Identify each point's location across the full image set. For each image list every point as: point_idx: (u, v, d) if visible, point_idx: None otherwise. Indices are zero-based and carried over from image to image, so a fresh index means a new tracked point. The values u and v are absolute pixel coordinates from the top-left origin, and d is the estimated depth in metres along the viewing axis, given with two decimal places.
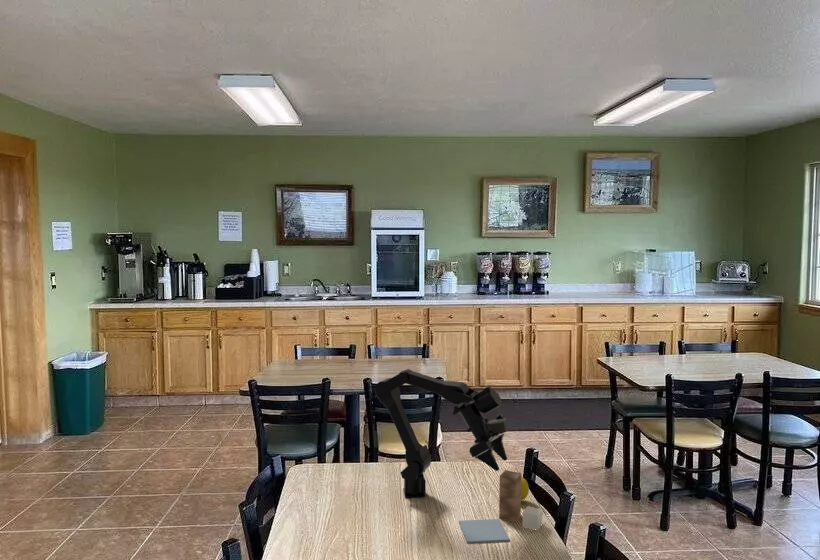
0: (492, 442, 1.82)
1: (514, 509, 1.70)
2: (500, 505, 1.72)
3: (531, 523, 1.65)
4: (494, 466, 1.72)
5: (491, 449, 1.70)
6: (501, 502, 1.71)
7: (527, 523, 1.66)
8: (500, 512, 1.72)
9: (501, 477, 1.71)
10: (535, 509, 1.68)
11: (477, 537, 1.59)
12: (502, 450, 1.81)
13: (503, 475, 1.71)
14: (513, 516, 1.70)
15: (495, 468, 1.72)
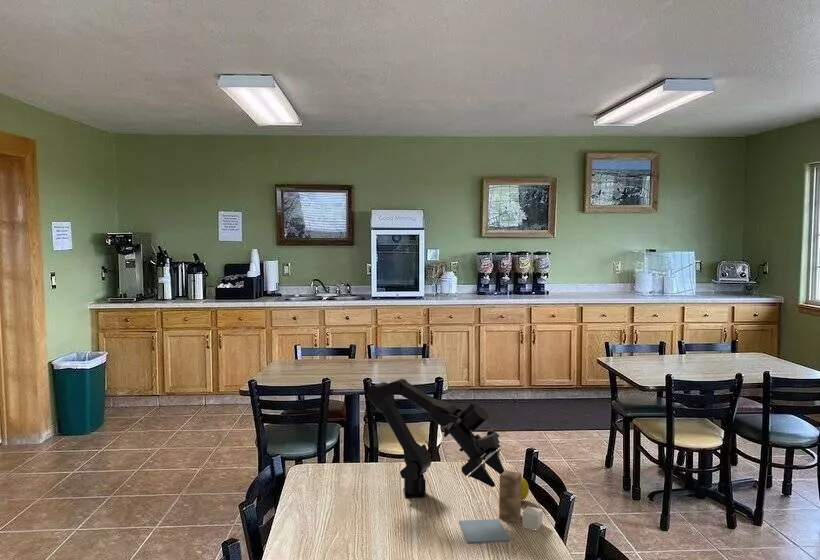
0: (489, 459, 1.81)
1: (514, 509, 1.70)
2: (500, 505, 1.72)
3: (531, 522, 1.65)
4: (489, 482, 1.70)
5: (482, 465, 1.69)
6: (501, 502, 1.71)
7: (527, 523, 1.66)
8: (500, 512, 1.72)
9: (501, 477, 1.71)
10: (535, 509, 1.68)
11: (477, 537, 1.59)
12: (499, 466, 1.79)
13: (503, 475, 1.71)
14: (513, 516, 1.70)
15: (491, 484, 1.70)
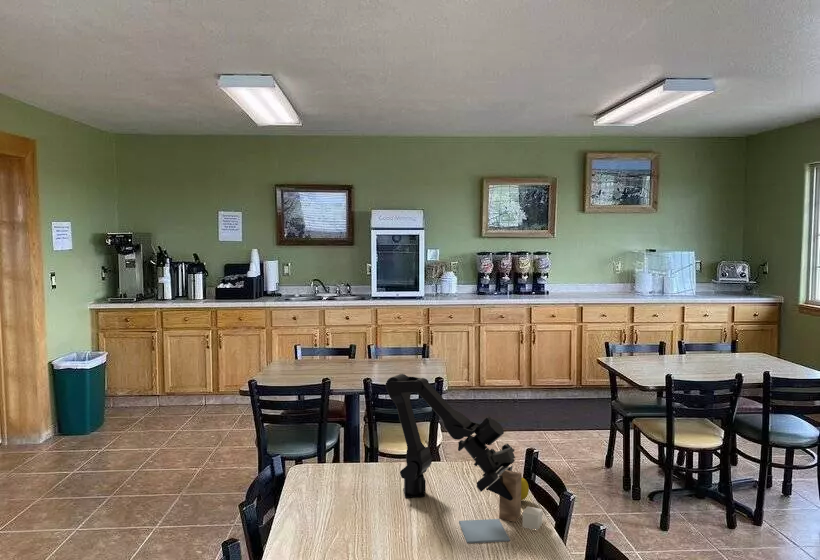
0: None
1: (514, 509, 1.70)
2: (500, 505, 1.72)
3: (531, 522, 1.65)
4: (507, 496, 1.69)
5: (500, 479, 1.68)
6: (501, 502, 1.71)
7: (527, 523, 1.66)
8: (500, 512, 1.72)
9: None
10: (535, 509, 1.68)
11: (477, 537, 1.59)
12: None
13: (504, 475, 1.71)
14: (513, 515, 1.70)
15: (508, 498, 1.69)
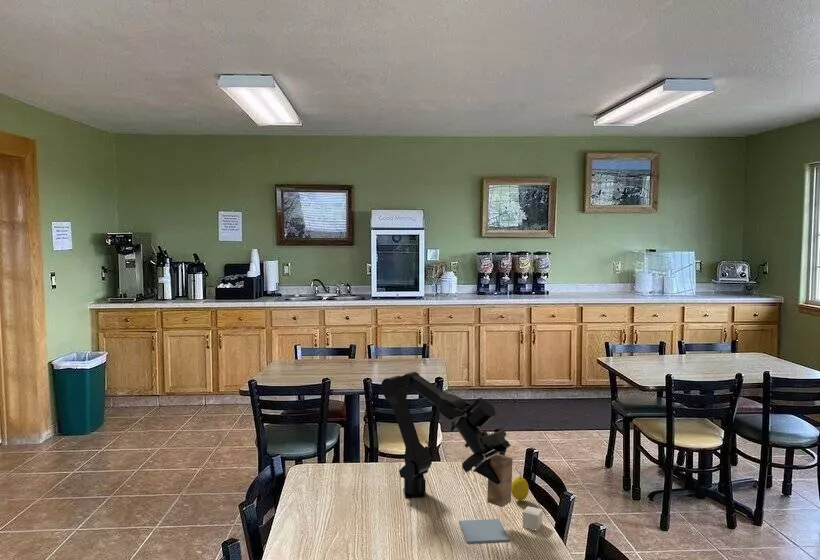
0: None
1: (501, 494, 1.64)
2: (488, 488, 1.67)
3: (531, 522, 1.65)
4: (494, 479, 1.65)
5: (487, 461, 1.64)
6: (489, 485, 1.67)
7: (527, 523, 1.66)
8: (488, 496, 1.67)
9: (490, 460, 1.67)
10: (535, 509, 1.68)
11: (477, 537, 1.59)
12: None
13: (493, 458, 1.67)
14: (500, 500, 1.65)
15: (495, 481, 1.65)
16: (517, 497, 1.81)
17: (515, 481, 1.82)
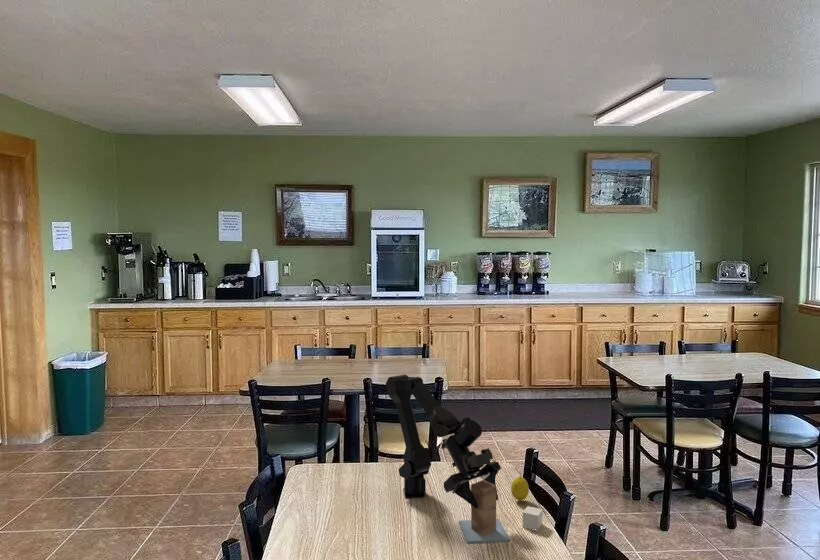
0: (485, 480, 1.69)
1: (483, 522, 1.61)
2: (472, 515, 1.64)
3: (531, 523, 1.65)
4: (472, 503, 1.60)
5: (464, 483, 1.60)
6: (472, 512, 1.64)
7: (527, 523, 1.66)
8: (472, 523, 1.64)
9: (472, 486, 1.63)
10: (535, 509, 1.68)
11: (477, 537, 1.59)
12: None
13: (475, 485, 1.63)
14: (482, 529, 1.61)
15: (474, 505, 1.60)
16: (517, 497, 1.81)
17: (515, 481, 1.82)
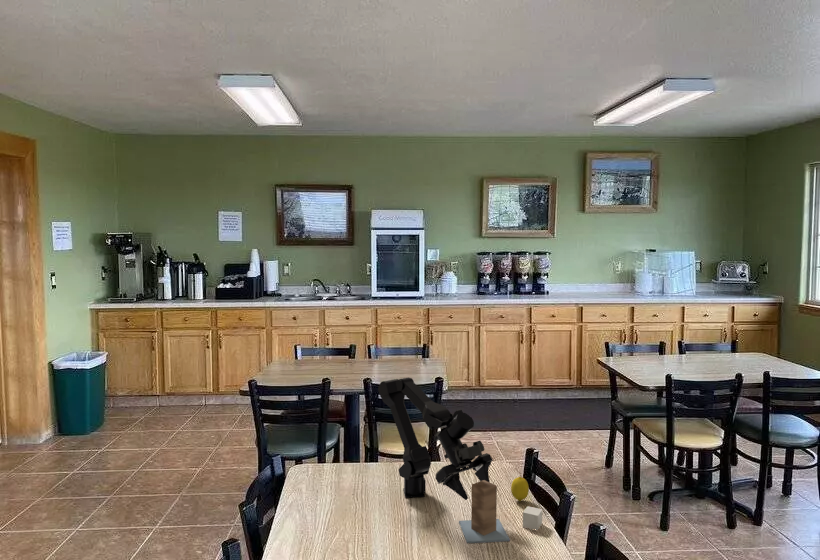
0: (478, 471, 1.72)
1: (483, 522, 1.61)
2: (472, 515, 1.64)
3: (531, 523, 1.65)
4: (462, 494, 1.63)
5: (454, 475, 1.62)
6: (473, 512, 1.64)
7: (527, 523, 1.66)
8: (472, 523, 1.64)
9: (473, 486, 1.63)
10: (535, 509, 1.68)
11: (477, 537, 1.59)
12: (486, 480, 1.69)
13: (476, 484, 1.63)
14: (482, 528, 1.61)
15: (463, 497, 1.63)
16: (517, 497, 1.81)
17: (515, 481, 1.82)
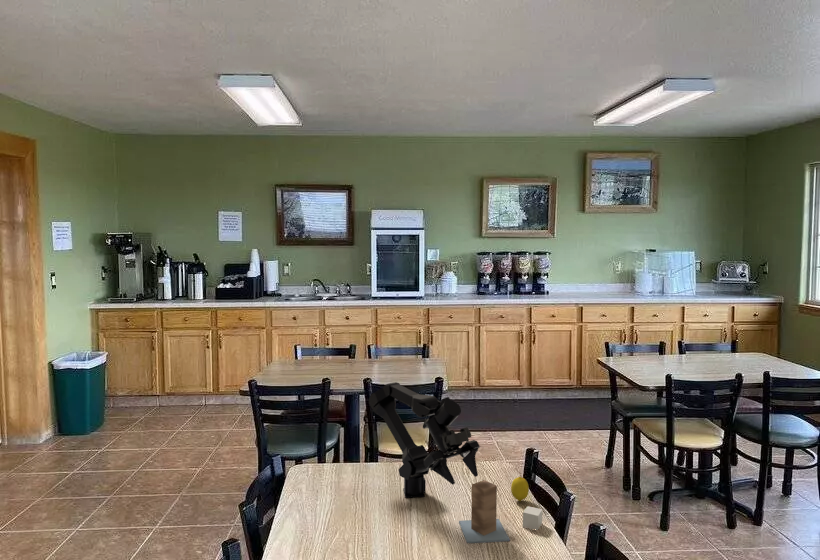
0: (465, 457, 1.76)
1: (483, 522, 1.61)
2: (472, 515, 1.64)
3: (531, 523, 1.65)
4: (449, 479, 1.67)
5: (441, 460, 1.67)
6: (473, 512, 1.64)
7: (527, 523, 1.66)
8: (472, 523, 1.64)
9: (473, 486, 1.63)
10: (535, 509, 1.68)
11: (477, 537, 1.59)
12: (473, 466, 1.73)
13: (476, 484, 1.63)
14: (482, 528, 1.61)
15: (451, 481, 1.67)
16: (517, 497, 1.81)
17: (515, 481, 1.82)
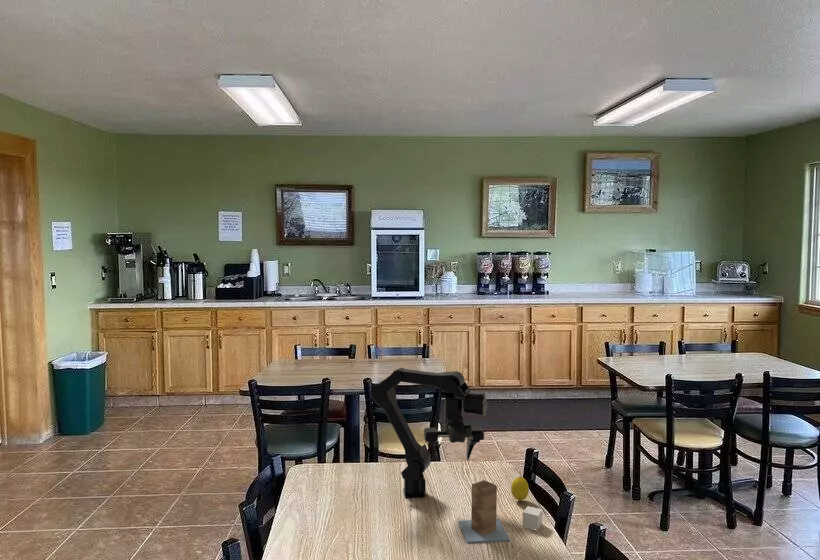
0: (468, 438, 1.85)
1: (483, 522, 1.61)
2: (472, 515, 1.64)
3: (531, 523, 1.65)
4: (437, 455, 1.83)
5: (433, 443, 1.80)
6: (473, 512, 1.64)
7: (527, 523, 1.66)
8: (472, 523, 1.64)
9: (473, 486, 1.63)
10: (535, 509, 1.68)
11: (477, 537, 1.59)
12: (468, 451, 1.83)
13: (476, 484, 1.63)
14: (482, 528, 1.61)
15: None
16: (517, 497, 1.81)
17: (515, 481, 1.82)
